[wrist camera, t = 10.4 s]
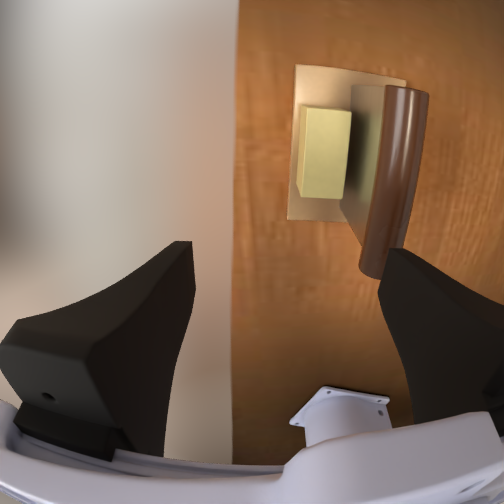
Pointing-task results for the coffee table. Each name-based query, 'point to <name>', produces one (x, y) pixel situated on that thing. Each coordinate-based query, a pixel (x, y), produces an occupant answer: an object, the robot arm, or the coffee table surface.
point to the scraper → (383, 168)
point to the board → (328, 95)
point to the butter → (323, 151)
